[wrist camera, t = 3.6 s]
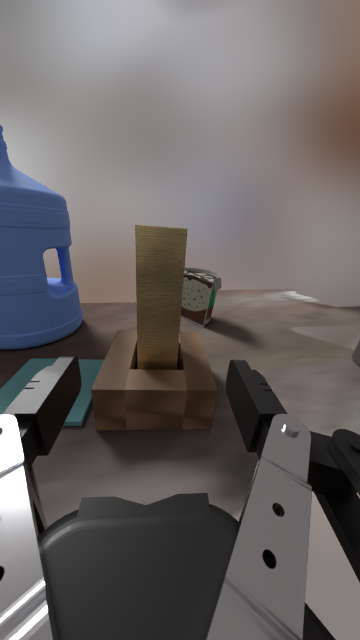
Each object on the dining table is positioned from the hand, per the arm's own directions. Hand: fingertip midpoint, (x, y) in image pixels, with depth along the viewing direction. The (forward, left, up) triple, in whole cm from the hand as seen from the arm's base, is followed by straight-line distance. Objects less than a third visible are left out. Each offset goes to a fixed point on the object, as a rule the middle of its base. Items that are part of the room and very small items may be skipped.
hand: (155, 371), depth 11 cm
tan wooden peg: (0, -11, -11) cm, 15 cm away
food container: (-8, -34, -11) cm, 36 cm away
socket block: (0, -11, -11) cm, 15 cm away
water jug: (+22, -26, -11) cm, 36 cm away
